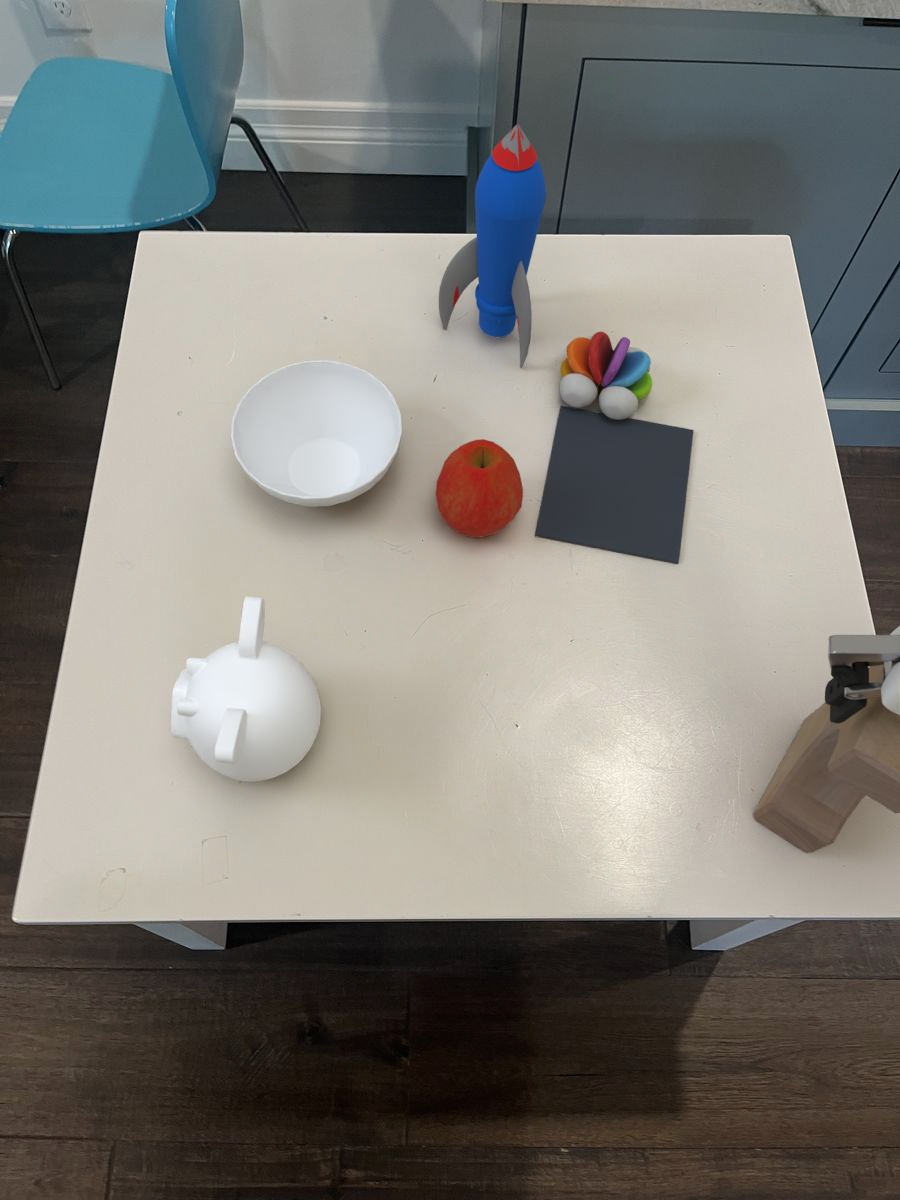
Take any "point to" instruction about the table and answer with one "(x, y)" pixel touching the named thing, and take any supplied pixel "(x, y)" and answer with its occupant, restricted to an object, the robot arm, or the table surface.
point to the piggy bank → (247, 704)
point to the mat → (616, 485)
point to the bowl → (317, 432)
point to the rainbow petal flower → (605, 375)
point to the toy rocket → (501, 242)
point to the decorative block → (834, 773)
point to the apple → (479, 489)
